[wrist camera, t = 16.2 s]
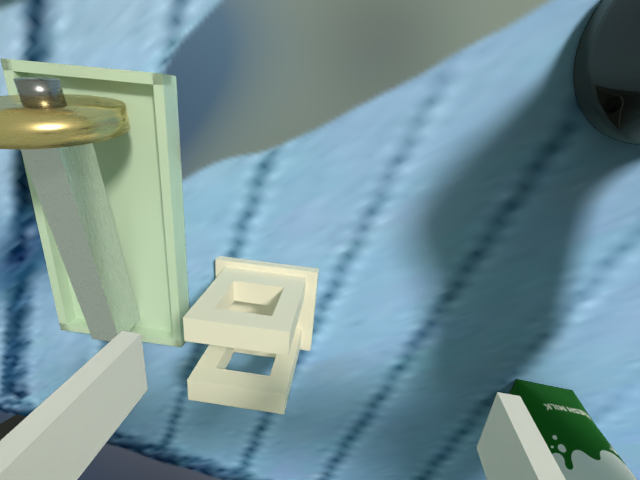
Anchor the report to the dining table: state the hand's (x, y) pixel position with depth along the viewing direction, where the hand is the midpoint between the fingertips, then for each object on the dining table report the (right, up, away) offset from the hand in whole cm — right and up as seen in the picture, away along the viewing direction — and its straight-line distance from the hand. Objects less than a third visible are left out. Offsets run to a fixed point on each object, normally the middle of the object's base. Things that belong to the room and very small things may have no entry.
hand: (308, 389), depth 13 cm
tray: (-23, +8, +27) cm, 37 cm away
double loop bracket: (-6, -2, +29) cm, 30 cm away
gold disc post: (-23, +10, +27) cm, 37 cm away
